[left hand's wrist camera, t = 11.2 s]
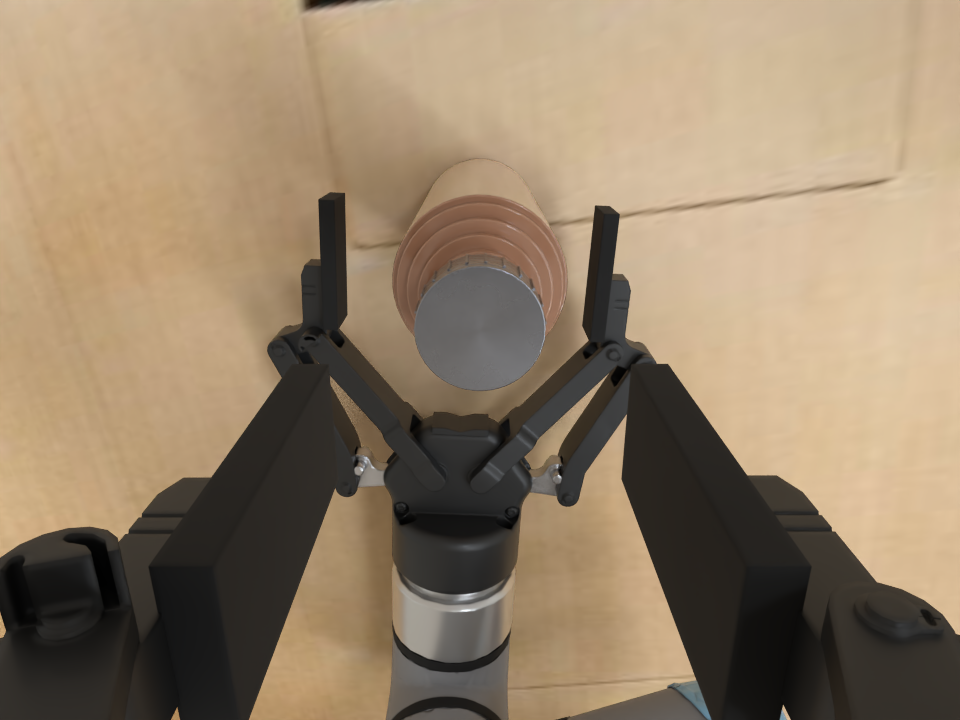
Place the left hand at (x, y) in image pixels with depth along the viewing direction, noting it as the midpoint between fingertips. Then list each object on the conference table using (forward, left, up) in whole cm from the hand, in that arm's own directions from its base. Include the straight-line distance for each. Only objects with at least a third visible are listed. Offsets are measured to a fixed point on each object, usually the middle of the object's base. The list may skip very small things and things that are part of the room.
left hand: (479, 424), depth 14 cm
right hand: (-1, -1, -21) cm, 21 cm away
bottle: (0, 0, -28) cm, 28 cm away
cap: (0, 0, -7) cm, 7 cm away
